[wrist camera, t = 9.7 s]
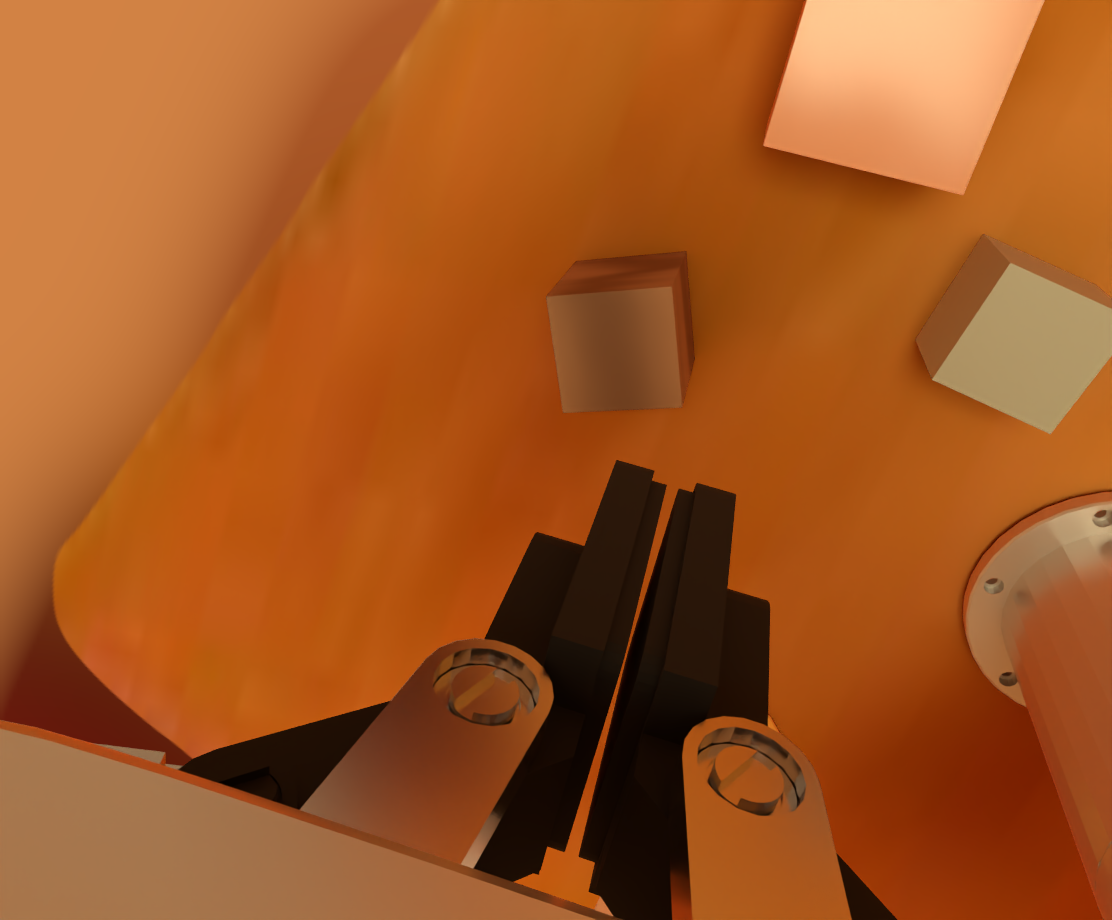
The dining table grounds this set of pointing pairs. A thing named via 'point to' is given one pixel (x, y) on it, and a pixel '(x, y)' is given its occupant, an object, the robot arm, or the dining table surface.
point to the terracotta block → (899, 84)
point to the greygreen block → (1018, 334)
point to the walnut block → (623, 333)
